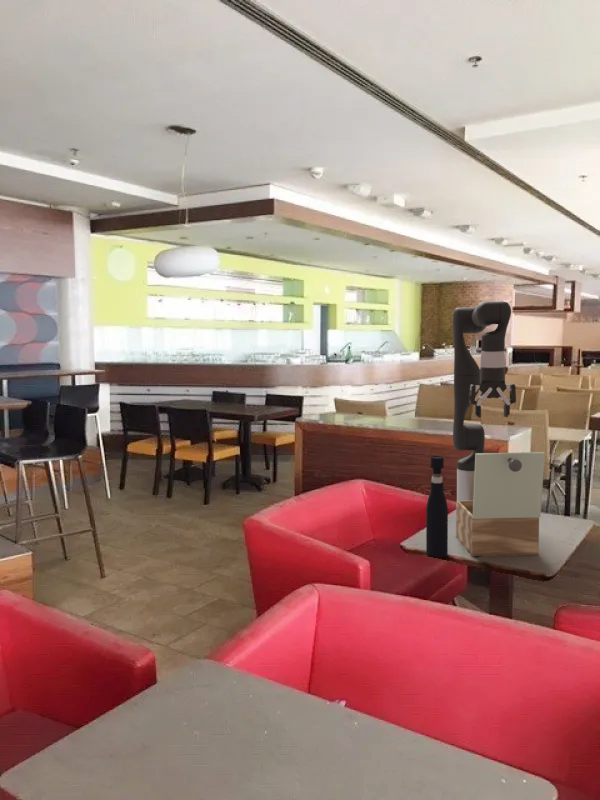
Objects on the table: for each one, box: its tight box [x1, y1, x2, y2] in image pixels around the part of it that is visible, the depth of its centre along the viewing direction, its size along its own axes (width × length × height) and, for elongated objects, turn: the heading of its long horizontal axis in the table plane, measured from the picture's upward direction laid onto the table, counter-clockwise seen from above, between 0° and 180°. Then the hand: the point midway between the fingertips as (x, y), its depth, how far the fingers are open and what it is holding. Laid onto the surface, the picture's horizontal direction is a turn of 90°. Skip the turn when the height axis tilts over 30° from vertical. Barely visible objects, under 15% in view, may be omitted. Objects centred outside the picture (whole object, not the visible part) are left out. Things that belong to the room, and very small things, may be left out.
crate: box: [455, 500, 540, 557], centre depth 217 cm, size 20×20×12 cm
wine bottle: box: [425, 455, 449, 559], centre depth 209 cm, size 6×6×30 cm
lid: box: [473, 451, 546, 519], centre depth 200 cm, size 20×20×7 cm
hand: (492, 417), depth 218 cm, fingers open, 8 cm apart
